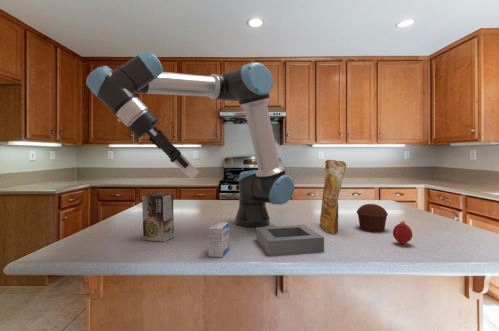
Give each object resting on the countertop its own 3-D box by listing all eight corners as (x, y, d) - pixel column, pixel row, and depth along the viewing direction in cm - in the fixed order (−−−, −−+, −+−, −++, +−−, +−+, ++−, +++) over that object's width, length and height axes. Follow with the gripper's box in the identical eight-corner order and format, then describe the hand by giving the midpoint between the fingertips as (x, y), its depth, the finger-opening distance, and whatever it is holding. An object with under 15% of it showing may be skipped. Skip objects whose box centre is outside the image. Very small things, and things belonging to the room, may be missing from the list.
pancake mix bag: (332, 223, 122) (332, 159, 121) (346, 235, 103) (347, 160, 102) (316, 223, 122) (317, 159, 121) (328, 235, 103) (329, 160, 102)
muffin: (392, 229, 112) (392, 204, 111) (381, 235, 104) (382, 208, 104) (362, 224, 120) (363, 201, 120) (351, 229, 113) (351, 204, 112)
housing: (256, 239, 98) (256, 227, 98) (303, 236, 102) (303, 224, 102) (268, 256, 83) (268, 241, 82) (324, 251, 86) (324, 237, 86)
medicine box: (222, 258, 81) (222, 228, 81) (208, 256, 82) (207, 228, 82) (229, 249, 89) (229, 222, 89) (216, 248, 90) (216, 221, 90)
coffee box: (174, 237, 102) (174, 193, 101) (163, 242, 96) (163, 196, 95) (154, 234, 105) (153, 192, 104) (142, 239, 99) (141, 194, 98)
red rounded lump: (411, 248, 89) (412, 223, 89) (391, 245, 92) (392, 221, 92) (412, 243, 94) (412, 220, 94) (393, 240, 97) (393, 218, 97)
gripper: (132, 131, 87) (180, 179, 92) (121, 122, 63) (186, 187, 68) (150, 116, 89) (197, 164, 93) (146, 101, 65) (208, 166, 70)
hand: (192, 174), depth 81 cm, fingers open, 13 cm apart
